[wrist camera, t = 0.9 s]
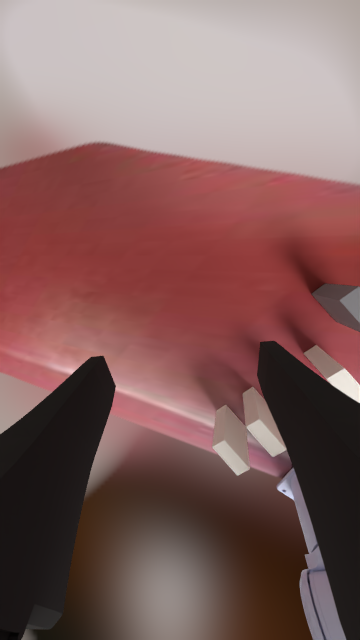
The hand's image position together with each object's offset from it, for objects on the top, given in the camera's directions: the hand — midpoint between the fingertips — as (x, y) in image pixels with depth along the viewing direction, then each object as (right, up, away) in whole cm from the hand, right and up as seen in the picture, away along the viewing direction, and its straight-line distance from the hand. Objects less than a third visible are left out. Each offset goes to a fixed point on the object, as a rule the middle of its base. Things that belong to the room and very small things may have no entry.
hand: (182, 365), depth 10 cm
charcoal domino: (+18, +4, +15) cm, 24 cm away
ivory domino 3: (+18, -3, +17) cm, 24 cm away
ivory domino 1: (+7, -12, +21) cm, 26 cm away
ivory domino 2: (+11, -9, +20) cm, 24 cm away
